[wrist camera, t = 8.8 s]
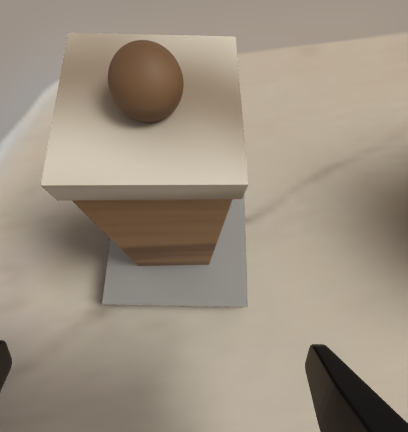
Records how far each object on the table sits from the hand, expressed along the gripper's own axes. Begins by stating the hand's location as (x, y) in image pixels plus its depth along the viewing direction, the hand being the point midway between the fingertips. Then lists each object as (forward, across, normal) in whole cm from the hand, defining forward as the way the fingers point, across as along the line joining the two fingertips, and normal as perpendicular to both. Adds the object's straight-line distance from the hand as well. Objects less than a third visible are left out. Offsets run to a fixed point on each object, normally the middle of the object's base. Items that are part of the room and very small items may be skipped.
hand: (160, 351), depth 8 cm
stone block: (+15, 0, +5) cm, 16 cm away
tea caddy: (+13, +1, +3) cm, 13 cm away
